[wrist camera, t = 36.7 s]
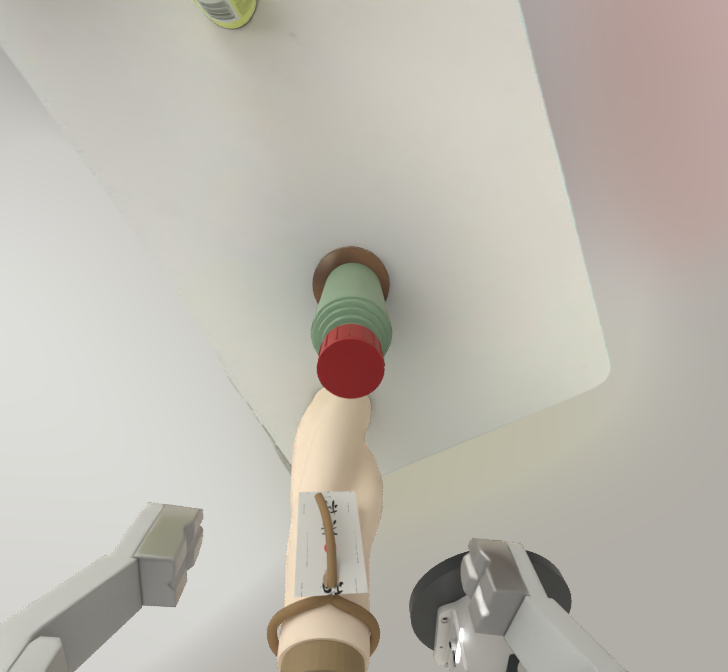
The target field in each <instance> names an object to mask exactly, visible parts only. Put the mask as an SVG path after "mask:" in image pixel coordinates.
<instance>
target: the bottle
mask: <svg viewBox="0 0 728 672" xmlns="http://www.w3.org/2000/svg"><path fill="white" fill-rule="evenodd" d="M345 324H357V325H361V326H364V327H366V328H368V329H369V330H371V331H372V332H374V334H375V335H376V336H377V338H378V339H379V341H380V342H381V348H382V352H383V357H384V356H385V354H386V352H387V351H388V349H389V347H390V344H391V340H392V327H391V323H390V319H389V315H388V311H387V307H386V304H385V300H384V296H383V292H382V288H381V284H380V281H379V279H378V277H377V275H376V274H375V273H374V272H373V271H372V270H371V269H370V268H369V267H367V266H365V265H363V264H359V263H346V264H343V265H340V266H339V267H337V268H336V269H334V270H333V271H332V272H331V273H330V275H329V276H328V278H327V280H326V283H325V286H324V289H323V292H322V295H321V299H320V302H319V305H318V308H317V311H316V314H315V317H314V320H313V323H312V328H311V338H312V343H313V346H314V348H315V350H316V352H317V354H318V355H319V350H320V346H321V343H322V342H323V340H324V338H325V337H326V335H327V333H329V332H330V331H331V330H333V329H334V328H336V327H338V326H341V325H345Z"/></svg>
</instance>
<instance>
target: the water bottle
mask: <svg viewBox="0 0 728 672" xmlns="http://www.w3.org/2000/svg"><path fill="white" fill-rule="evenodd" d="M370 419H371V403H370V400H369V398H368V396H367V395H366V396H364V397H360V398H355V399H346V398H341V397H338V396H335V395H333V394H332V393H330V392H329V391H327V390H326V389H325V388H324V387H323V388H322V389H320V390H319V391H318V392H317V393H316V394H315V396H314V398H313V400H312V403H311V404H310V406H309V407H308V408H307V410H306V411H305V413H304V415H303V417H302V419H301V421H300V424H299V426H298V430H297V434H296V438H295V443H294V450H293V459H292V475H291V498H290V499H291V500H290V502H291V503H290V504H291V516H292V522H291V527H290V532H289V539H288V546H287V555H286V583H285V584H286V585H285V604H284V608H283V609H281V610H280V611H278V612H277V613H276V614H275V615H274V616H273V618H272V619H271V621H270V623H269V625H268V629H267V639H268V643H269V646H270V648H271V650H272V652H273V653H274V654H275V655H276V656H277V664H278V669H279V672H367V669H368V666H369V659H370V656H371V655H372V654H373V652H374V651H375V649H376V647H377V645H378V643H379V639H380V629H379V625H378V623H377V620H376V619H375V618H374V616H373V615H372V614H371V613H370V612H369V611H370V610H369V556H370V550H371V546H372V543H373V540H374V537H375V534H376V531H377V528H378V526H379V522H380V519H381V513H382V492H383V490H382V489H383V483H382V477H381V474H380V472H379V470H378V467H377V464H376V461H375V459H374V456H373V454H372V452H371V451H370V449H369V448H368V446H367V445H366V443H365V434H366V431H367V429H368V427H369V424H370ZM281 623H282V625H281V632H280V639H279V640H278V637H277V628H278V626H279V625H280V624H281ZM370 632H371V635H370Z"/></svg>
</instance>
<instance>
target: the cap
mask: <svg viewBox="0 0 728 672" xmlns="http://www.w3.org/2000/svg"><path fill="white" fill-rule="evenodd" d="M318 356H319V358H318V363H317V374H318V378H319V380H320V382H321V384H322V385H323V386H324V388H325V389H326V390H327V391H329V392H330V393H332V394H333V395H335V396H338V397H341V398H346V399H355V398H360V397H364V396H366V395H368V394H370V393H371V392H373V391H374V390H375V389H376V388H377V387H378V386H379V384H380V383H381V381H382V379H383V376H384V366H385V363H384V357H383V352H382V348H381V342H380V341H379V339H378V338H377V336H376V335H375V334H374V332H372V331H371V330H369V329H368V328H366V327H364V326H361V325H357V324H345V325H341V326H338V327H336V328H334V329H333V330H331V331H330V332H329V333H327V335H326V337H325V338H324V340H323V342H322V343H321V346H320V350H319V355H318Z"/></svg>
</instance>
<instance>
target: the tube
mask: <svg viewBox="0 0 728 672" xmlns="http://www.w3.org/2000/svg"><path fill="white" fill-rule="evenodd" d="M194 2H195V3H196V4H197V5H198V6H199V7H200V8H201V10H202V11H203V12H204V13H205V14H206V15H207V16H208V17H209V18H210V19H211V20H212V21H213V22H214V23H216V24H217V25H219V26H221V27H224V28H230V29H233V28H238V27H241V26H242V25H244V24H245V23H247V22H248V21H249V20H250V18H251V17H252V15H253V13H254V10H255V6H256V0H194Z"/></svg>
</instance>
